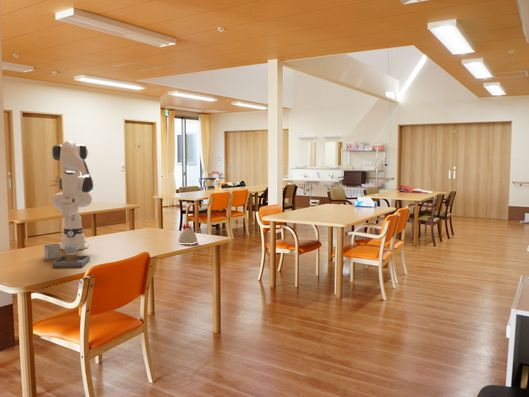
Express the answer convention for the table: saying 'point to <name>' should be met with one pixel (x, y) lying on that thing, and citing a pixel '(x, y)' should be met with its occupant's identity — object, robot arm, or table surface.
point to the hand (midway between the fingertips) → (70, 222)
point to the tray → (62, 262)
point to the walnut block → (71, 257)
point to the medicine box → (52, 251)
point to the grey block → (70, 249)
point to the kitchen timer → (187, 235)
